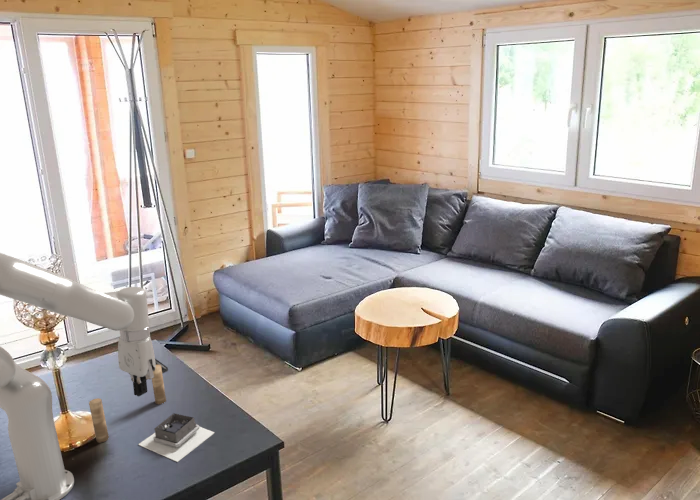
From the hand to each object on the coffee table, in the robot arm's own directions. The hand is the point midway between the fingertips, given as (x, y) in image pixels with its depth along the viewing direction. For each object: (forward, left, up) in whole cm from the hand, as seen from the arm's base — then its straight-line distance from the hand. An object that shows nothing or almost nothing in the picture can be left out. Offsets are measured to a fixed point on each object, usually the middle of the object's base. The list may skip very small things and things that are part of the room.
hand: (140, 393), depth 158 cm
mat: (+1, -11, -12) cm, 16 cm away
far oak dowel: (+12, +8, -12) cm, 19 cm away
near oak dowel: (-9, +8, -12) cm, 17 cm away
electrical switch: (+1, -6, -9) cm, 11 cm away
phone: (+25, +28, -13) cm, 40 cm away
